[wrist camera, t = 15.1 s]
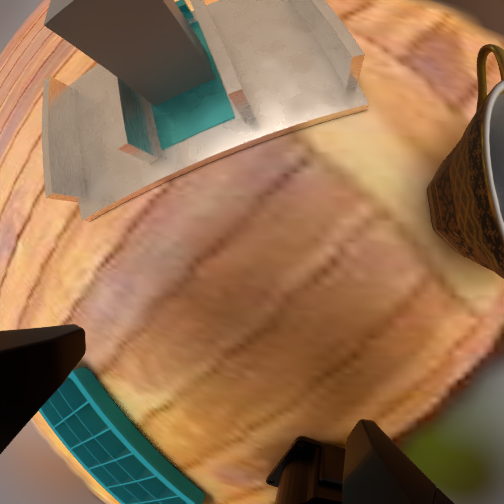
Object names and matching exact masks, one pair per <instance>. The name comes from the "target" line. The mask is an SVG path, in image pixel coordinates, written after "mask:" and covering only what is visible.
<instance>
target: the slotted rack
mask: <svg viewBox="0 0 504 504" xmlns="http://www.w3.org/2000/svg"><path fill="white" fill-rule="evenodd" d="M190 1H191V3H192V6H193V8H194V11H191V10H190V8H189V7H188V5H187V3H186V2H185V0H179V1H177V2H175V3H176V5H177V6H178V8H179V9H180V11H181V12H182V14H183V15H184V17H185V18H186V20H187V21H188V23H189V24H190V26H191V27H192V29H193V30H194V32H195V34H196V35H197V37H198V38H199V40H200V42H201V43H202V45H203V46H204V48H205V51H206V53H207V56H208V58H209V61H210V64H211V67H212V69H213V72H214V75H215V77H216V78H215V79H213V80H211V81H208V82H206V83H204V84H201V85H199V86H197V87H195V88H192V89H190V90H188V91H186V92H184V93H182V94H180V95H177V96H175V97H173V98H171V99H169V100H167V101H165V102H163V103H162V104H160V105H158V106H156V107H155V106H153V105H152V104H151V103H150V102H148V101H147V100H146V99H145V98H143V97H142V96H141V95H140V94H138V93H137V92H136V91H134V90H133V89H132V88H130V87H129V86H128V85H127V84H125V83H124V82H123V81H121V80H120V79H119V78H117V77H116V76H115V75H113V74H112V73H111V72H109V71H108V70H107V69H105V68H104V67H103V66H101V65H100V64H98V65H96V66H95V67H93V68H92V69H91V70H89V71H88V72H86V73H85V74H84V75H82V76H81V77H80V78H79V79H77V80H76V81H75V82H73V83H72V84H71V85H70V86H67V85H66V84H64V83H62V82H60V81H58V80H56V79H55V78H53V77H51V76H49V77H48V78H47V79H46V80H45V81H44V90H43V108H42V150H43V168H44V181H45V191H46V198H51V199H58V200H65V201H72V202H79V207H80V212H81V218H82V221H91V220H93V219H95V218H96V217H98V216H100V215H102V214H104V213H106V212H107V211H109V210H111V209H113V208H115V207H117V206H119V205H121V204H122V203H124V202H126V201H128V200H130V199H132V198H134V197H136V196H138V195H140V194H142V193H144V192H146V191H148V190H150V189H152V188H154V187H157V186H159V185H161V184H163V183H165V182H167V181H169V180H171V179H174V178H176V177H178V176H180V175H182V174H185V173H187V172H189V171H191V170H194V169H196V168H198V167H201V166H203V165H205V164H208V163H210V162H213V161H215V160H217V159H220V158H222V157H225V156H227V155H230V154H232V153H235V152H237V151H240V150H243V149H245V148H248V147H251V146H253V145H256V144H259V143H261V142H264V141H267V140H270V139H273V138H275V137H278V136H281V135H284V134H287V133H290V132H293V131H296V130H299V129H302V128H306V127H309V126H312V125H315V124H318V123H322V122H325V121H328V120H332V119H335V118H339V117H342V116H346V115H350V114H353V113H357V112H361V111H365V110H367V108H368V106H369V103H368V101H367V99H366V97H365V95H364V93H363V91H362V90H361V88H360V86H359V84H358V79H359V75H360V71H361V67H362V63H363V59H364V55H365V54H364V53H363V51H362V50H361V48H360V47H359V45H358V44H357V42H356V41H355V39H354V38H353V36H352V35H351V34H350V32H349V31H348V29H347V28H346V27H345V25H344V24H343V23H342V21H341V20H340V19H339V17H338V16H337V15H336V14H335V12H334V11H333V10H332V9H331V7H330V6H329V5H328V4H327V2H326V1H325V0H219V1H217V2H214V3H211V4H209V5H206V4H205V2H204V0H190Z"/></svg>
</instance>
